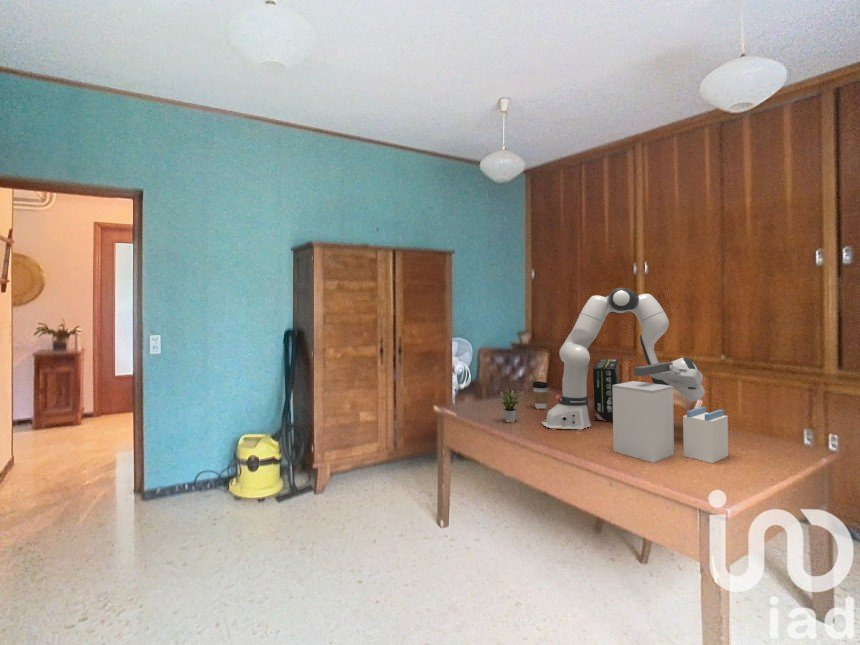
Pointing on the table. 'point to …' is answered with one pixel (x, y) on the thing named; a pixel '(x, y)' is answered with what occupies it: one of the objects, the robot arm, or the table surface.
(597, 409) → the router box
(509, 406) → the house plant
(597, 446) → the table surface
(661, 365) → the dark grey bar
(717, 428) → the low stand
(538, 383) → the coffee cup
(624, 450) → the tall stand
